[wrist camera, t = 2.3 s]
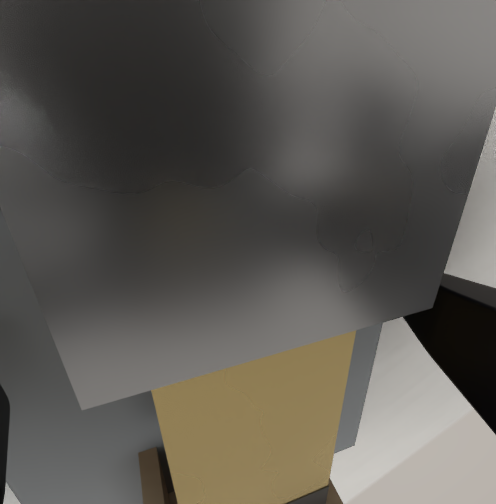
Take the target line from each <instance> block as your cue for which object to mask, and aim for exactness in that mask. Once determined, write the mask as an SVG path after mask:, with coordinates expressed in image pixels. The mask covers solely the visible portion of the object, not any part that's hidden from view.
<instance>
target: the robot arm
mask: <svg viewBox="0 0 496 504" xmlns="http://www.w3.org/2000/svg"><path fill="white" fill-rule="evenodd" d="M403 318H404V319H405V321H406V322H407V323H408V325H409V326H410V328H411V329H412V331H413V332H414V334H415V335H416V337H417V338H418V340H419V341H420V342H421V344H422V345H423V347H424V348H425V349H426V351H427V352H428V353H429V355H430V356H431V357H432V358H433V360H434V361H435V362H436V363H437V365H438V366H439V367H440V368H441V369H442V371H443V372H444V373H445V374H446V375H447V377H448V378H449V379H450V380H451V381H452V383H453V384H454V385H455V386H456V387H457V389H458V390H459V391H460V392H461V393H462V395H463V396H464V397H465V398H466V399H467V401H468V402H469V403H470V404H471V405H472V407H473V408H474V409H475V410H476V411H477V413H478V414H479V415H480V416H481V418H482V419H483V420H484V421H485V422H486V423H487V425H488V426H489V427H490V428H491V429H492V431H493V432H494V433H495V434H496V288H493V287H489V286H486V285H482V284H479V283H475V282H472V281H469V280H465V279H462V278H458V277H455V276H451V275H448V274H444V273H443V276H442V279H441V282H440V286H439V289H438V292H437V295H436V298H435V301H434V305H433V308H430V309H427V310H424V311H420V312H417V313H413V314H410V315H406V316H403ZM9 422H10V403H9V399H8V397H7V395H6V393H5V391H4V389H3V388H2V386H1V384H0V504H3V501H4V494H5V483H6V470H7V454H8V438H9Z"/></svg>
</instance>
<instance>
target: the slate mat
mask: <svg viewBox="0 0 496 504" xmlns="http://www.w3.org/2000/svg"><path fill="white" fill-rule="evenodd" d="M381 327H382V323H379V324H376V325H372V326H369V327H365V328H362V329H359V330H356V334H355V340H354V345H353V351H352V356H351V362H350V367H349V373H348V378H347V384H346V389H345V395H344V400H343V406H342V411H341V416H340V422H339V427H338V433H337V438H336V444H335V449H334V453H337V452H339V451H342V450H344V449H347V448H349V447H352V446H354V445H355V441H356V437H357V432H358V428H359V423H360V419H361V415H362V410H363V406H364V402H365V397H366V393H367V389H368V384H369V380H370V375H371V371H372V367H373V362H374V358H375V354H376V349H377V345H378V341H379V336H380V332H381ZM0 384H1V386H2V388H3V389H4V391H5V393H6V395H7V397H8V399H9V403H10V422H9V438H8V454H7V470H6V482H7V484H8V485H9V487H10V488H11V490H12V491H13V493H14V494H15V496H16V497H17V499H18V500H19V502H20V503H21V504H143V496H142V486H141V476H140V466H139V456H138V453H139V452H142V451H145V450H148V449H151V448H154V447H156V448H157V452H158V456H159V460H160V464H161V467H162V471H163V475H164V479H165V483H166V487H167V491H168V493H171V492H174V491H175V490H174V486H173V481H172V477H171V473H170V469H169V464H168V460H167V456H166V452H165V447H164V443H163V439H162V435H161V430H160V426H159V422H158V417H157V413H156V409H155V405H154V400H153V396H152V392H151V390H150V391H147V392H143V393H140V394H137V395H133V396H130V397H126V398H123V399H120V400H116V401H113V402H109V403H106V404H102V405H99V406H96V407H92V408H89V409H85V410H81V407H80V405H79V402H78V400H77V397H76V395H75V392H74V390H73V387H72V385H71V382H70V380H69V377H68V375H67V372H66V370H65V367H64V365H63V362H62V360H61V357H60V355H59V352H58V350H57V347H56V345H55V342H54V340H53V337H52V335H51V332H50V330H49V327H48V325H47V322H46V320H45V317H44V315H43V312H42V310H41V307H40V305H39V302H38V300H37V297H36V295H35V292H34V290H33V287H32V285H31V282H30V280H29V277H28V275H27V272H26V270H25V267H24V265H23V262H22V260H21V257H20V255H19V252H18V250H17V247H16V245H15V242H14V240H13V237H12V235H11V233H10V230H9V228H8V225H7V223H6V220H5V218H4V215H3V213H2V210H1V208H0Z"/></svg>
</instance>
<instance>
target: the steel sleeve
mask: <svg viewBox="0 0 496 504" xmlns="http://www.w3.org/2000/svg"><path fill="white" fill-rule="evenodd" d="M495 107H496V0H0V208H1V210H2V213H3V215H4V218H5V220H6V223H7V225H8V228H9V230H10V233H11V235H12V237H13V240H14V242H15V245H16V247H17V250H18V252H19V255H20V257H21V260H22V262H23V265H24V267H25V270H26V272H27V275H28V277H29V280H30V282H31V285H32V287H33V290H34V292H35V295H36V297H37V300H38V302H39V305H40V307H41V310H42V312H43V315H44V317H45V320H46V322H47V325H48V327H49V330H50V332H51V335H52V337H53V340H54V342H55V345H56V347H57V350H58V352H59V355H60V357H61V360H62V362H63V365H64V367H65V370H66V372H67V375H68V377H69V380H70V382H71V385H72V387H73V390H74V392H75V395H76V397H77V400H78V402H79V405H80V407H81V410H85V409H89V408H92V407H96V406H99V405H102V404H106V403H109V402H113V401H116V400H120V399H123V398H126V397H130V396H133V395H137V394H140V393H143V392H147V391H150V390H154V389H157V388H161V387H164V386H167V385H171V384H174V383H178V382H181V381H184V380H188V379H191V378H195V377H198V376H202V375H205V374H208V373H212V372H215V371H219V370H222V369H225V368H229V367H232V366H236V365H239V364H242V363H246V362H249V361H253V360H256V359H260V358H263V357H266V356H270V355H273V354H277V353H280V352H283V351H287V350H290V349H294V348H297V347H301V346H304V345H307V344H311V343H314V342H318V341H321V340H324V339H328V338H331V337H335V336H338V335H342V334H345V333H348V332H352V331H355V330H359V329H362V328H365V327H369V326H372V325H376V324H379V323H383V322H386V321H389V320H393V319H396V318H400V317H403V316H406V315H410V314H413V313H417V312H420V311H424V310H427V309H430V308H433V305H434V301H435V298H436V295H437V292H438V289H439V286H440V282H441V279H442V276H443V273H444V270H445V266H446V263H447V260H448V257H449V254H450V251H451V247H452V244H453V241H454V238H455V235H456V231H457V228H458V225H459V222H460V219H461V216H462V212H463V209H464V206H465V203H466V200H467V196H468V193H469V190H470V187H471V184H472V180H473V177H474V174H475V171H476V168H477V165H478V161H479V158H480V155H481V152H482V149H483V145H484V142H485V139H486V136H487V133H488V130H489V126H490V123H491V120H492V117H493V114H494V110H495Z"/></svg>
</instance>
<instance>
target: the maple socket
mask: <svg viewBox="0 0 496 504" xmlns="http://www.w3.org/2000/svg"><path fill="white" fill-rule="evenodd" d="M138 456H139V466H140V476H141V486H142V496H143V504H178V503H177V498H176V494H175V491H174V492H171V493H168V491H167V487H166V483H165V479H164V475H163V471H162V467H161V464H160V460H159V456H158V452H157V448H156V447H154V448H151V449H148V450H145V451H142V452H139V453H138ZM328 486H329V489H328V495H327V500H326V504H343V502H342V501H341V499H340V497H339V495H338V493H337V491H336V489H335V487H334V486H333V484H332V482H331V480H330V478H329V482H328Z"/></svg>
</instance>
